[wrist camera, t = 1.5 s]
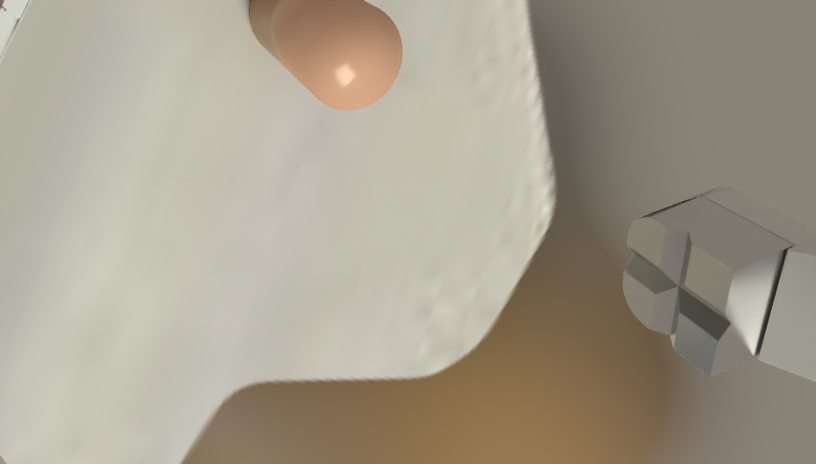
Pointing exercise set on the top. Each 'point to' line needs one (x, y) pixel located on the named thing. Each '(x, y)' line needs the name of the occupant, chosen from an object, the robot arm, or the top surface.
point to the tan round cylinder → (331, 47)
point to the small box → (10, 21)
